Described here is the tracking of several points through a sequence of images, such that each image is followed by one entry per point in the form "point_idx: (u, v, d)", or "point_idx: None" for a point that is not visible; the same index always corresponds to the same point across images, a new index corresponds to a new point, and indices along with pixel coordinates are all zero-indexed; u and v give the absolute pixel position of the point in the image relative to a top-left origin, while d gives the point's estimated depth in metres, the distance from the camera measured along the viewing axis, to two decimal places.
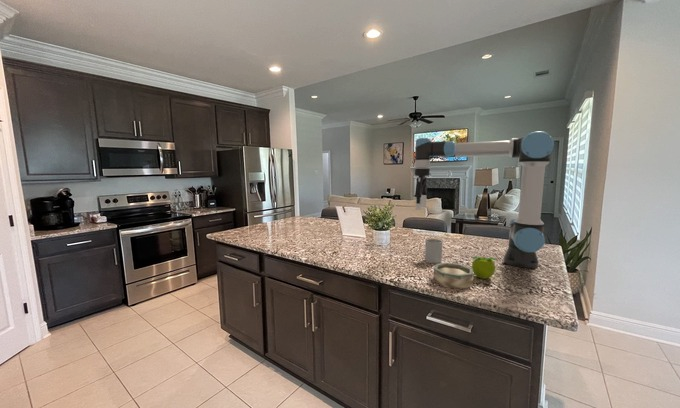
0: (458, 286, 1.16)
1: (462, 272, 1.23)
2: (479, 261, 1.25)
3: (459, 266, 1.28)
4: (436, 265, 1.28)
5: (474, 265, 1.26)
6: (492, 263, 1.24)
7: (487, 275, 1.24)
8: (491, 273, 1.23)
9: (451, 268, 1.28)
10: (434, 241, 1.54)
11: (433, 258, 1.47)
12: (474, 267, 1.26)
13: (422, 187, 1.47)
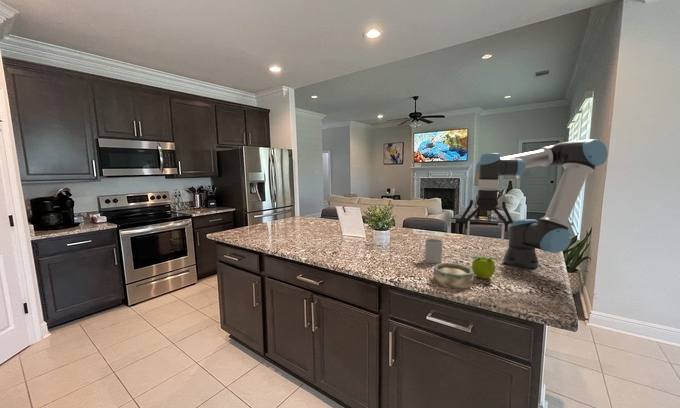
0: (458, 286, 1.16)
1: (462, 272, 1.23)
2: (479, 261, 1.25)
3: (459, 266, 1.28)
4: (436, 265, 1.28)
5: (474, 265, 1.26)
6: (492, 263, 1.24)
7: (487, 275, 1.24)
8: (491, 273, 1.23)
9: (451, 268, 1.28)
10: (434, 241, 1.54)
11: (433, 258, 1.47)
12: (474, 267, 1.26)
13: (476, 211, 1.25)
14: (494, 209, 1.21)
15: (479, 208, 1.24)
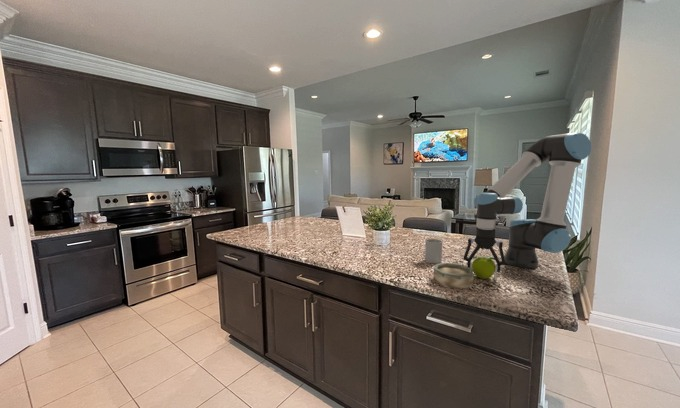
0: (458, 286, 1.16)
1: (462, 272, 1.23)
2: (479, 261, 1.25)
3: (459, 266, 1.28)
4: (436, 265, 1.28)
5: (474, 265, 1.26)
6: (492, 263, 1.24)
7: (487, 275, 1.24)
8: (491, 273, 1.23)
9: (451, 268, 1.28)
10: (434, 241, 1.54)
11: (433, 258, 1.47)
12: (474, 267, 1.26)
13: (476, 250, 1.27)
14: (491, 248, 1.24)
15: (478, 247, 1.26)
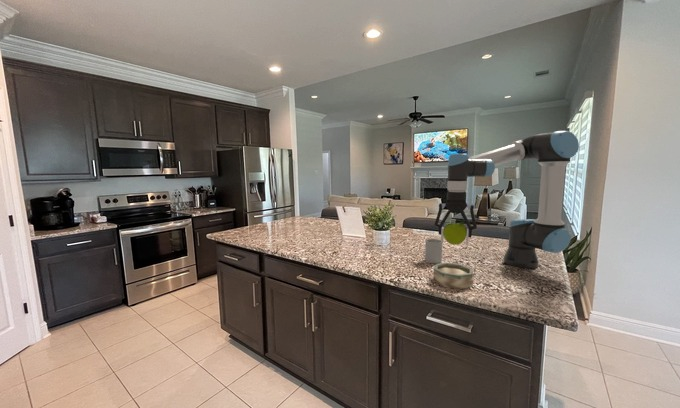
0: (458, 286, 1.16)
1: (462, 272, 1.23)
2: (450, 226, 1.19)
3: (459, 266, 1.28)
4: (436, 265, 1.28)
5: (445, 230, 1.20)
6: (463, 227, 1.18)
7: (458, 240, 1.18)
8: (462, 238, 1.18)
9: (451, 268, 1.28)
10: (434, 241, 1.54)
11: (433, 258, 1.47)
12: (445, 232, 1.20)
13: (447, 215, 1.21)
14: (461, 212, 1.18)
15: (449, 211, 1.20)
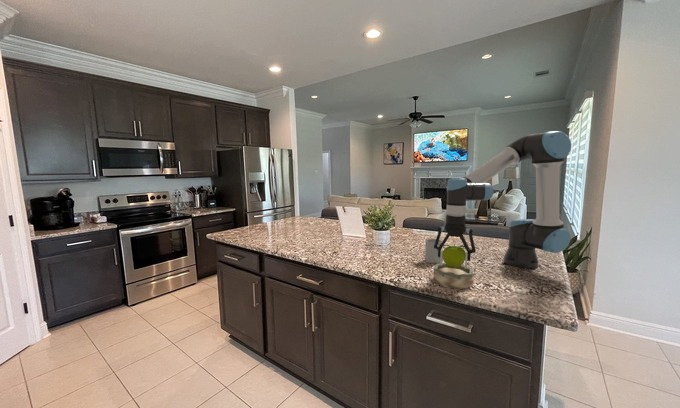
0: (458, 286, 1.16)
1: (462, 272, 1.23)
2: (449, 249, 1.20)
3: (459, 266, 1.28)
4: (436, 265, 1.28)
5: (444, 253, 1.21)
6: (462, 251, 1.19)
7: (457, 264, 1.19)
8: (461, 261, 1.19)
9: (451, 268, 1.28)
10: (434, 241, 1.54)
11: (433, 258, 1.47)
12: (444, 255, 1.21)
13: (446, 238, 1.22)
14: (460, 236, 1.19)
15: (448, 235, 1.21)
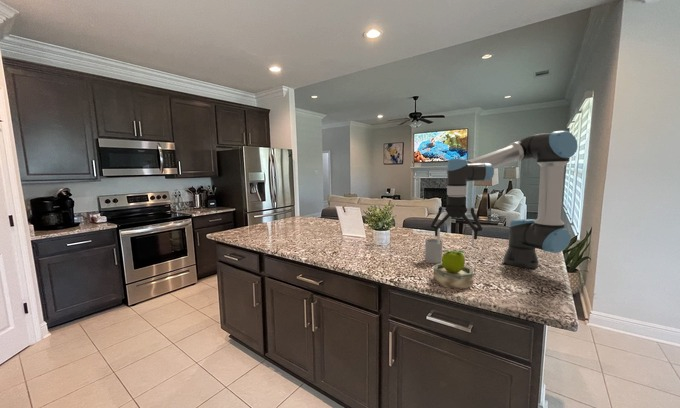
0: (458, 286, 1.16)
1: (462, 272, 1.23)
2: (448, 255, 1.21)
3: None
4: (436, 265, 1.28)
5: (443, 259, 1.22)
6: (461, 256, 1.20)
7: (456, 269, 1.19)
8: (460, 267, 1.19)
9: None
10: (434, 241, 1.54)
11: (433, 258, 1.47)
12: (443, 261, 1.22)
13: (445, 219, 1.21)
14: (463, 216, 1.18)
15: (448, 215, 1.20)
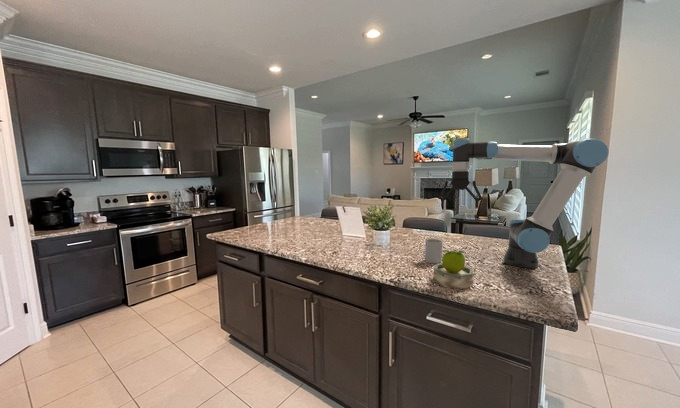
0: (458, 286, 1.16)
1: (462, 272, 1.23)
2: (448, 255, 1.21)
3: None
4: (436, 265, 1.28)
5: (444, 259, 1.22)
6: (462, 257, 1.20)
7: (456, 269, 1.19)
8: (461, 267, 1.19)
9: None
10: (434, 241, 1.54)
11: (433, 258, 1.47)
12: (444, 261, 1.22)
13: (450, 191, 1.41)
14: (466, 188, 1.38)
15: (453, 187, 1.40)
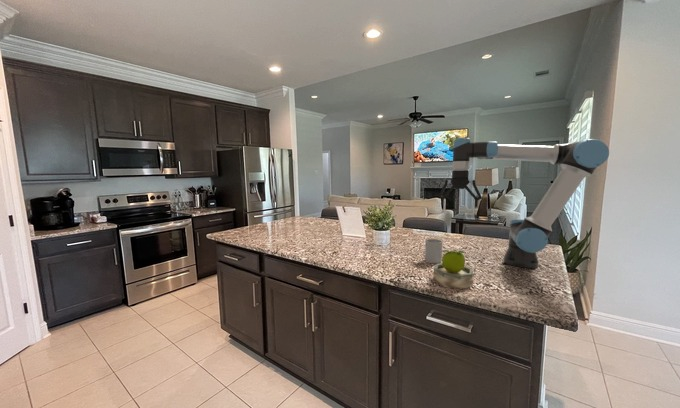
0: (458, 286, 1.16)
1: (462, 272, 1.23)
2: (448, 255, 1.21)
3: None
4: (436, 265, 1.28)
5: (444, 259, 1.22)
6: (462, 257, 1.20)
7: (456, 269, 1.19)
8: (461, 267, 1.19)
9: None
10: (434, 241, 1.54)
11: (433, 258, 1.47)
12: (444, 261, 1.22)
13: (450, 190, 1.43)
14: (466, 187, 1.39)
15: (453, 186, 1.41)
